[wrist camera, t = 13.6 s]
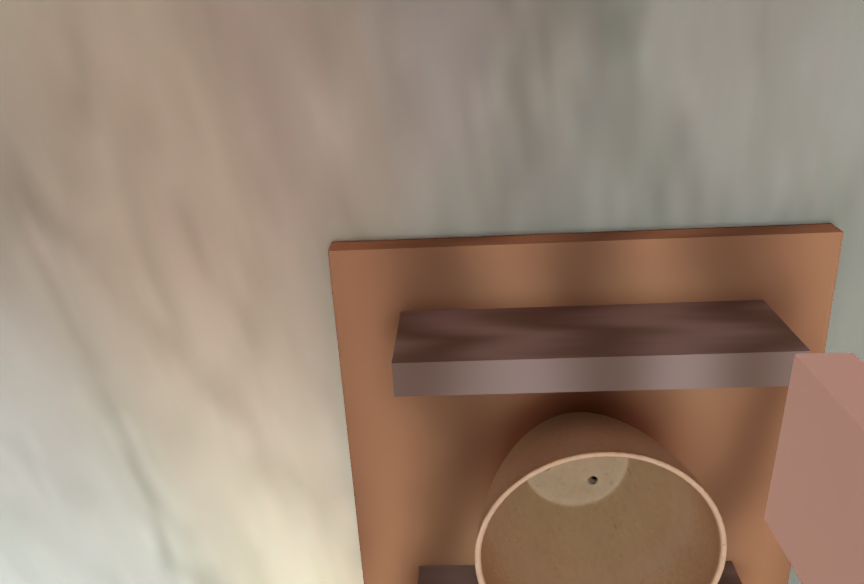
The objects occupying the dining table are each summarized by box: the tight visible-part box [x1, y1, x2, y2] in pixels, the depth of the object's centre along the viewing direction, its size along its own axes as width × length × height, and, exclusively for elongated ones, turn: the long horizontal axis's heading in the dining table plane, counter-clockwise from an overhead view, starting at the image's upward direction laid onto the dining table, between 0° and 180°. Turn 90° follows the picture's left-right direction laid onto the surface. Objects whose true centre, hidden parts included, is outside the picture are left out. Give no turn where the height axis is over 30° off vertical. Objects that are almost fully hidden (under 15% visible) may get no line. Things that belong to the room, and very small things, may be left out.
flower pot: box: [475, 412, 727, 584], centre depth 34 cm, size 10×10×7 cm
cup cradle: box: [328, 224, 843, 584], centre depth 36 cm, size 22×22×6 cm
